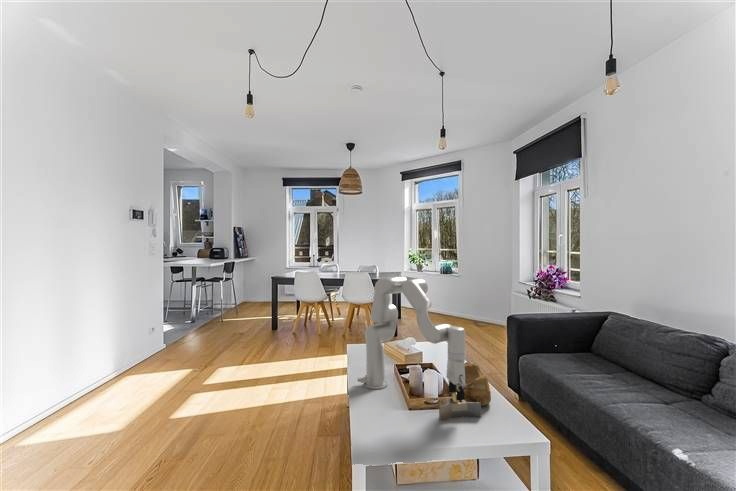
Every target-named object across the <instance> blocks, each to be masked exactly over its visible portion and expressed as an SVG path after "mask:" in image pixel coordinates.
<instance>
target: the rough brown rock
mask: <svg viewBox="0 0 736 491" xmlns="http://www.w3.org/2000/svg"><path fill="white" fill-rule="evenodd" d="M464 364H465V383H466V386H465V391H464V400H465V401H466V402H480V403H481V407H482V406H487V405H489V404H490V403H491V402H492V401H491V400H492V395H491V394H492V393H491V388H490V384H489V380H488V378H487V376H486V375H485V374H484V373H483V372H482V370H481V367H480V366H479V365H478V364H477V363H471V362H469V361H466V362H464ZM458 383H461V382H458ZM460 386H461V385H459V388H460ZM457 391H458V389H457V385H456V392H457Z"/></svg>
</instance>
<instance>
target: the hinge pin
mask: <svg viewBox="0 0 736 491" xmlns="http://www.w3.org/2000/svg"><path fill="white" fill-rule="evenodd" d="M451 393H452V394H451V395H452V396H451V397H452V402H453V403H458V402H460V400H457V392H451Z"/></svg>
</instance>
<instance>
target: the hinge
mask: <svg viewBox="0 0 736 491" xmlns="http://www.w3.org/2000/svg"><path fill="white" fill-rule="evenodd" d="M481 417H482V406H481V403H480V402H467V401H465V400H460V402H458V403H453V402H452V396H451V397H445V403H443V404H440V405H438V420H439V421H446V420H450V419H460V418H481Z"/></svg>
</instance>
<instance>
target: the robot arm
mask: <svg viewBox="0 0 736 491" xmlns="http://www.w3.org/2000/svg"><path fill="white" fill-rule="evenodd" d="M428 290H429V286H428V284H427V282H426V281H425V280H424V279H423V278H418V277H413V276H405V275H403V276H402V275H400V276H389V277H388V276H386V277H382V278H379V279H378V280H377V281H376V282H375V285H374V296H373V300H372V305H371V306H372V308H371V312H370V320H371V322H372V323H373V324H372V325H369V326H368V327H366V329H365V330H364V339H365V348H366V355H365V356H366V374H365V375H364V376H363V377H357V383H359V382H360V383H362V384H363V387H365V388H366V389H369V390H370V389H371V390H380V389H385V388H387V387H388V382H387V380H386V379H385V376H386V375H385V374H386V372H385V365H386V364H385V359H386V358H385V353H386V352H385V348H384V346H383V344H382V343H383V342H387V341H391V340H392V339H394V336H395V333H396V329H397V324H398V318H399V310H398V308H397V306H396V305H394V304H393V303H390V302H391V296H390V295H392V294H393V295H395V294H401V293H402V294H403V296H404V297H405V298H406V300H407V301H408V302H409V304H410V306H411V307H412V308H413V310H414V311H415V313H416V323H417V326H418V329H419V330H420V332H421V334H422V335H423V336H424V338H425V339H426V340H427V341H428V342H429V343H431V344H434V345H435V344H439V343H442V342H447V362H446V363H447V364H446V378H447V380H448V393H453V392H456V385H457V389H458V391H457V400H464V391H465V386H466V383H465V360H466V330H465V328H464V327H462V326H454V325H451V324H448V323H440V324H436V325H434V324H433V322H432V321H431V319H430V316H429V313H428V312H429V310H430V308H431V307H432V302H431V300H430V298H429V297H428V296H427V292H428ZM458 382H461V383H458ZM459 385H461V386H460V388H459Z"/></svg>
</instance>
